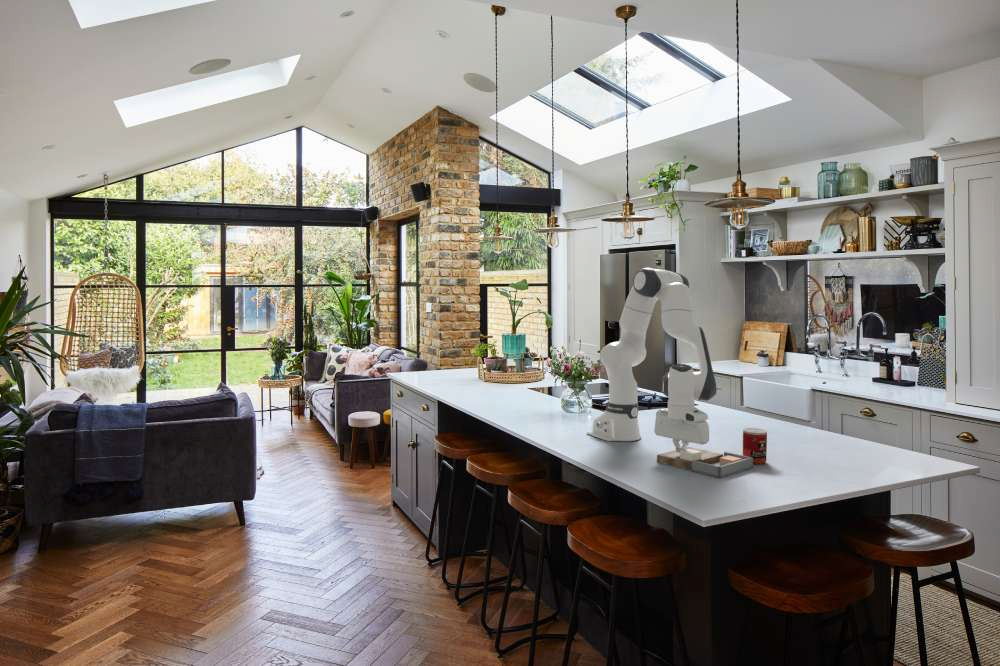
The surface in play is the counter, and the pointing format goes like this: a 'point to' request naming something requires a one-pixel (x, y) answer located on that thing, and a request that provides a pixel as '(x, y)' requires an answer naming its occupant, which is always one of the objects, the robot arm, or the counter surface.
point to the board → (675, 460)
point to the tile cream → (690, 454)
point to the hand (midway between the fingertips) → (680, 452)
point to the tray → (723, 466)
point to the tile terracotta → (728, 460)
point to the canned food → (755, 444)
